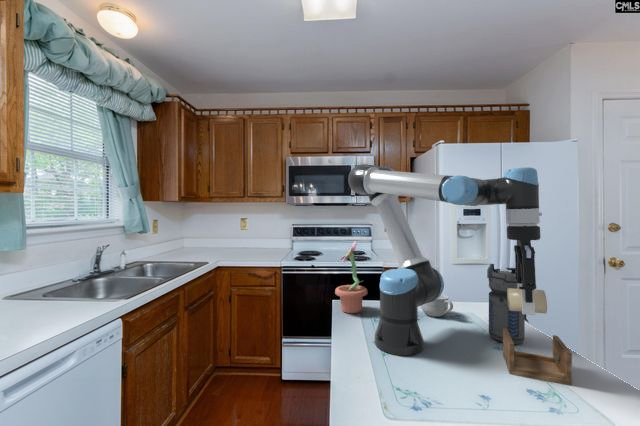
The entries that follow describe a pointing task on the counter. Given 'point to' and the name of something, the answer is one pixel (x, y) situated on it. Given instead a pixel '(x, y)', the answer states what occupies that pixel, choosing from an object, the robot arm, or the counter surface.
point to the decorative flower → (351, 289)
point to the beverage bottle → (504, 306)
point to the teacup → (437, 306)
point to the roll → (516, 300)
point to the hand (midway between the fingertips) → (526, 310)
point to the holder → (539, 362)
